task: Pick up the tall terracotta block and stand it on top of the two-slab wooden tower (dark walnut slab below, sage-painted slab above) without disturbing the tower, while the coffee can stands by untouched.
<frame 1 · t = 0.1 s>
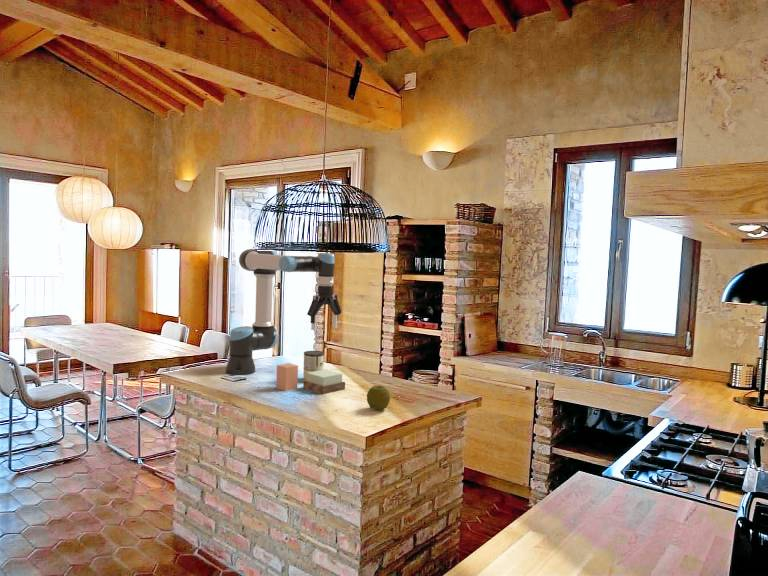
hand: (324, 329, 276), 28 cm above the kitchen island, fingers open, 13 cm apart
sage block: (324, 381, 272), point 3 cm above the kitchen island, touching walnut block
coffee can: (313, 380, 289), on the kitchen island
apple: (377, 409, 241), on the kitchen island
walnut block: (324, 389, 272), on the kitchen island, touching sage block
terracotta block: (286, 388, 270), on the kitchen island
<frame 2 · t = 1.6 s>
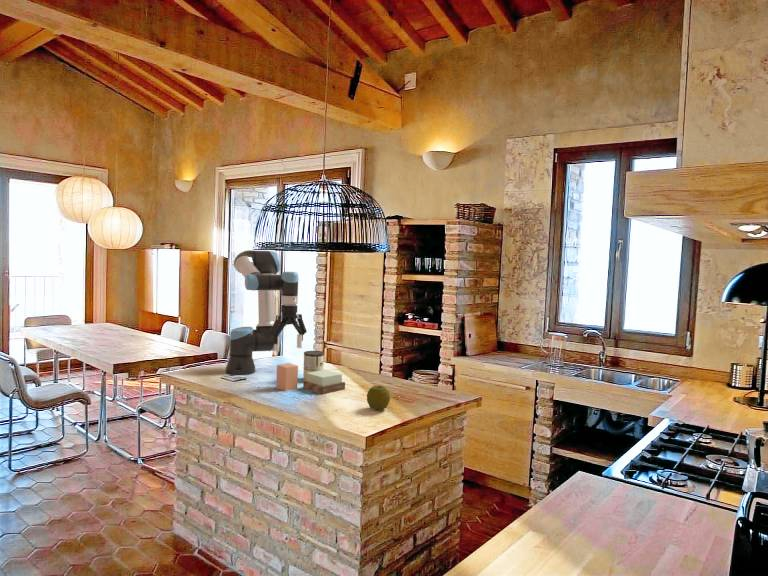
hand: (288, 349, 269), 19 cm above the kitchen island, fingers open, 13 cm apart
nothing on the kitchen island moved.
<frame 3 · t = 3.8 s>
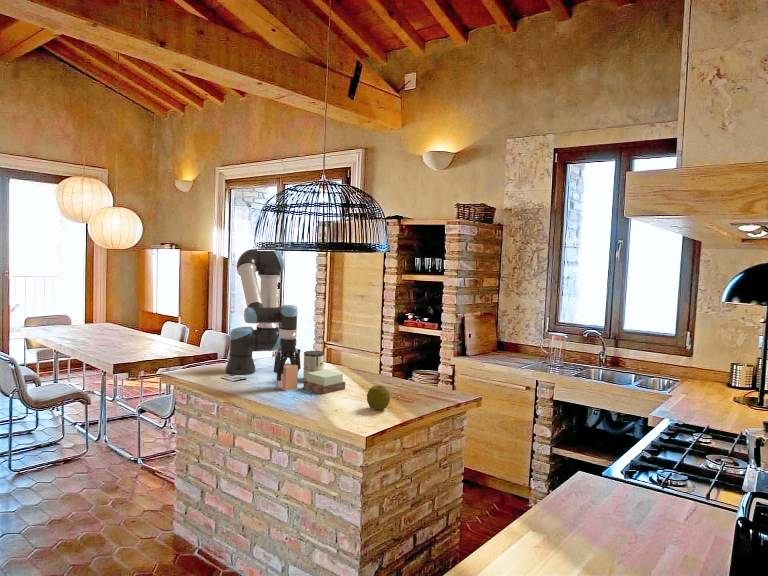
hand: (286, 385, 270), 1 cm above the kitchen island, fingers closed on terracotta block, 7 cm apart
terracotta block: (286, 388, 270), on the kitchen island, touching gripper
everything else where it was.
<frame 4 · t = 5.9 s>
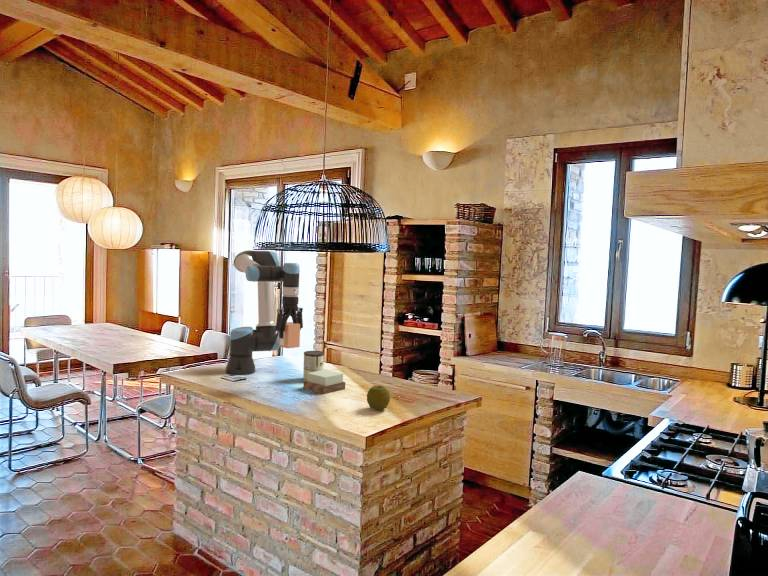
hand: (288, 344, 269), 21 cm above the kitchen island, fingers closed on terracotta block, 7 cm apart
terracotta block: (288, 346, 269), point 20 cm above the kitchen island, touching gripper
everything else where it was.
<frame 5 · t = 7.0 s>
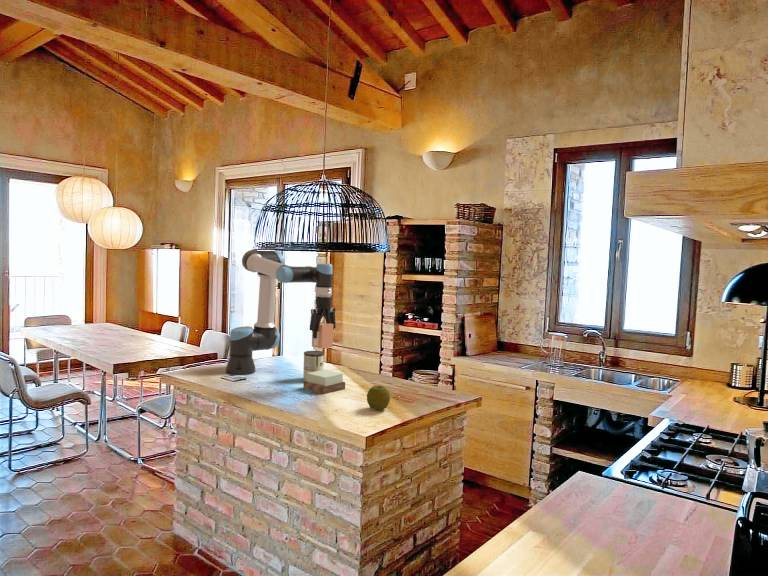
hand: (322, 344, 270), 21 cm above the kitchen island, fingers closed on terracotta block, 7 cm apart
terracotta block: (322, 346, 270), point 20 cm above the kitchen island, touching gripper
everything else where it was.
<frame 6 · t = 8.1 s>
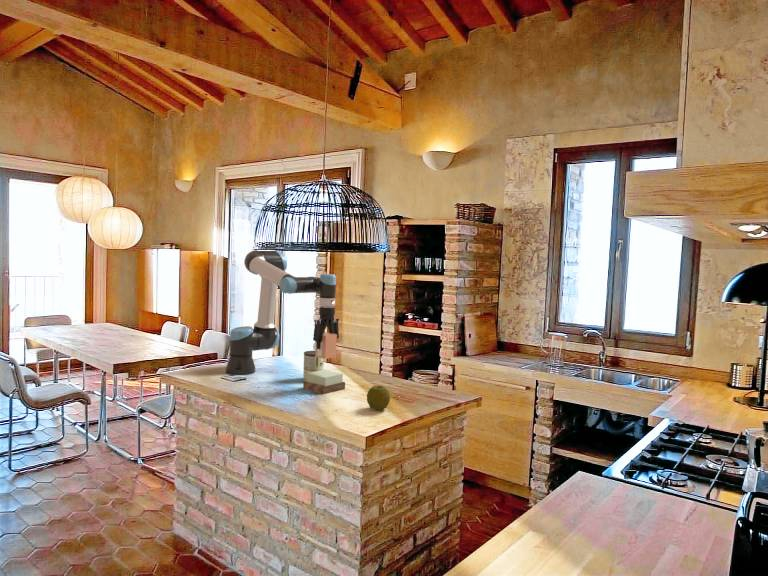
hand: (325, 354, 271), 17 cm above the kitchen island, fingers closed on terracotta block, 7 cm apart
terracotta block: (325, 356, 271), point 15 cm above the kitchen island, touching gripper
everything else where it was.
when the fingers open (10 cm above the kitchen island, at t = 9.6 s): terracotta block drops 1 cm, resting on sage block.
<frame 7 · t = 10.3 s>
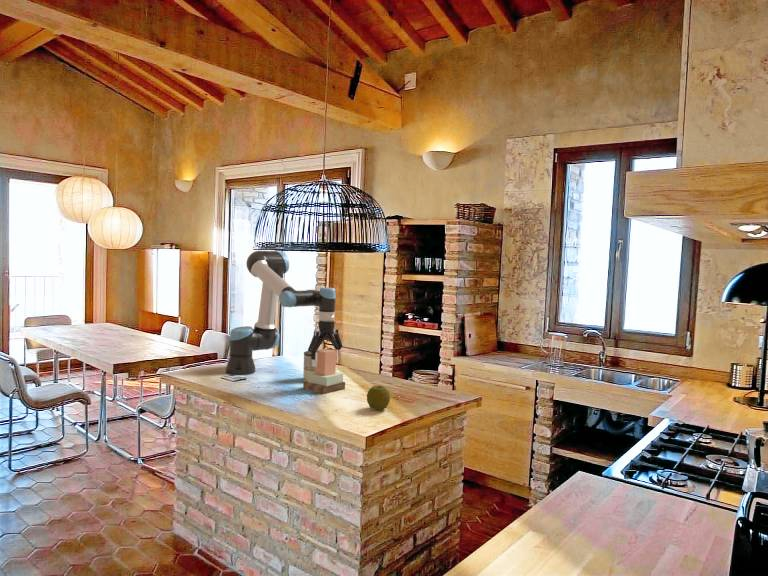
hand: (325, 364, 271), 12 cm above the kitchen island, fingers open, 13 cm apart
sage block: (325, 381, 272), point 3 cm above the kitchen island, touching terracotta block, walnut block
terracotta block: (324, 373, 272), point 7 cm above the kitchen island, touching sage block
everything else where it was.
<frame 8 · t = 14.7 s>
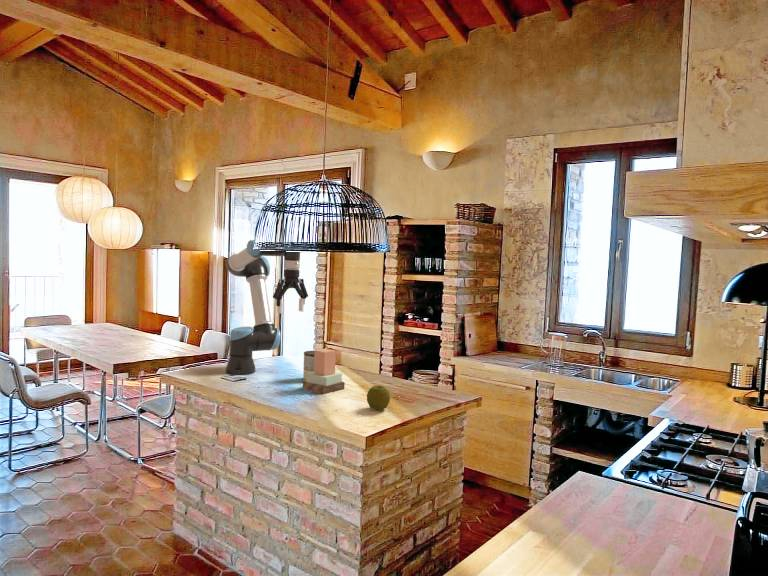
hand: (290, 312, 281), 35 cm above the kitchen island, fingers open, 13 cm apart
sage block: (323, 381, 272), point 3 cm above the kitchen island, touching terracotta block
walnut block: (323, 390, 272), on the kitchen island
everything else where it was.
at the end: terracotta block inside the target area on the sage block (0.3 cm from its centre), point 4.0 cm above the sage block's base; terracotta block tilted 0°; sage block moved 0.6 cm from its start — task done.
